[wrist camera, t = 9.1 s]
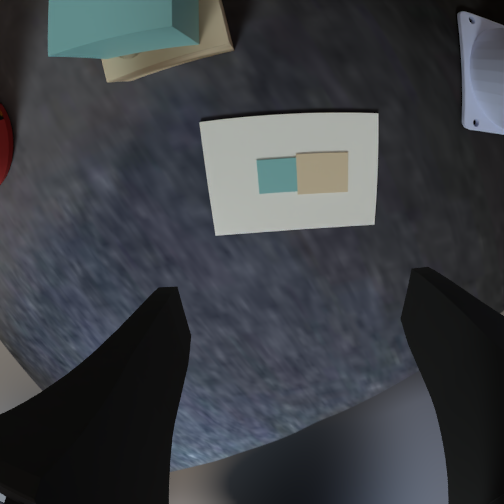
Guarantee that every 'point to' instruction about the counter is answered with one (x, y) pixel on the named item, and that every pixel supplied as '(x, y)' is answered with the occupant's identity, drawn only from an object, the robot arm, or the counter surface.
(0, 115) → the canned food
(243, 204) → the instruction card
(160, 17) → the teal brick
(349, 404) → the counter surface
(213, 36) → the oak base brick
